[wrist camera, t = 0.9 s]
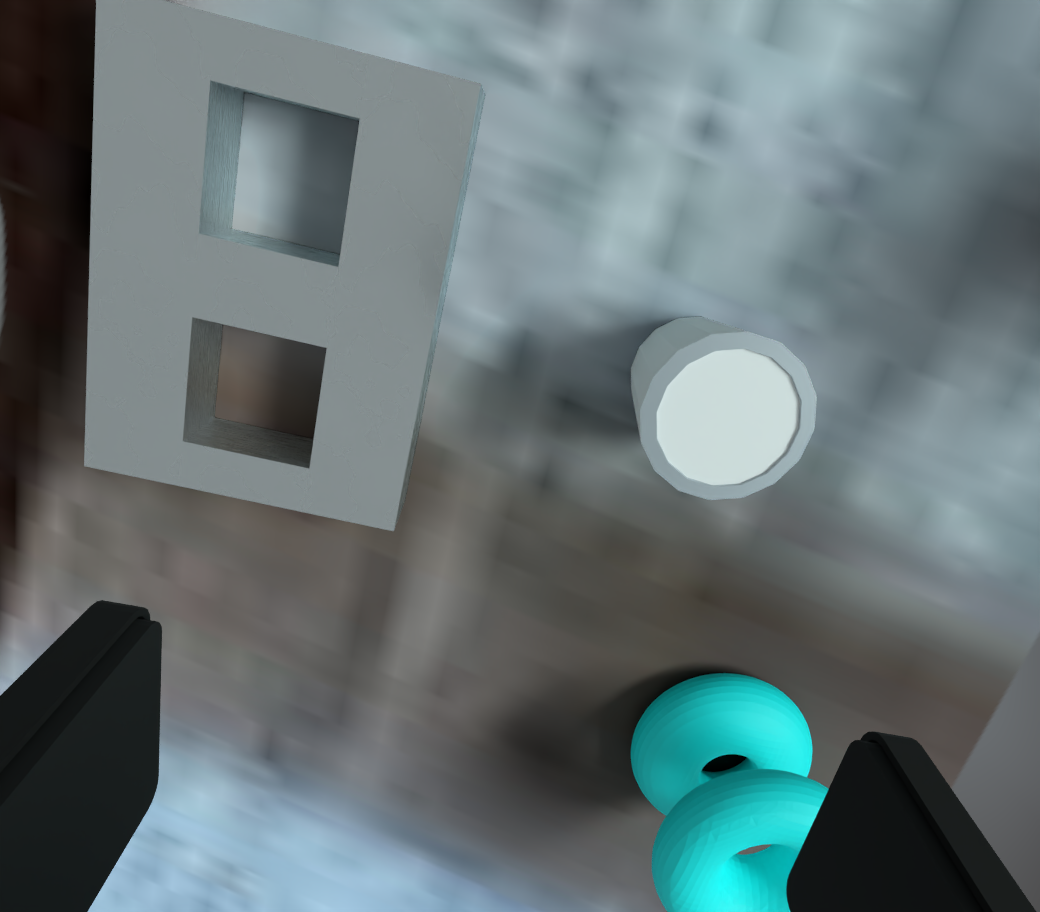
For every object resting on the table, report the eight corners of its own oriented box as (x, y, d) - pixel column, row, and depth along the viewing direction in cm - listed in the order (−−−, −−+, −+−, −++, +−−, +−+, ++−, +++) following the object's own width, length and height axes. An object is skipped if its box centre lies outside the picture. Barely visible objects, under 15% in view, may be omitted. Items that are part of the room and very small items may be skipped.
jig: (144, 5, 29) (96, -18, 26) (485, 94, 30) (480, 83, 27) (124, 440, 36) (84, 466, 32) (405, 500, 37) (393, 531, 33)
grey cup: (589, 402, 35) (605, 452, 28) (668, 274, 33) (704, 297, 26) (708, 466, 36) (749, 529, 29) (790, 347, 34) (855, 386, 27)
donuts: (922, 836, 31) (823, 985, 35) (829, 686, 41) (759, 815, 44) (707, 784, 30) (626, 944, 34) (663, 643, 40) (604, 778, 43)
